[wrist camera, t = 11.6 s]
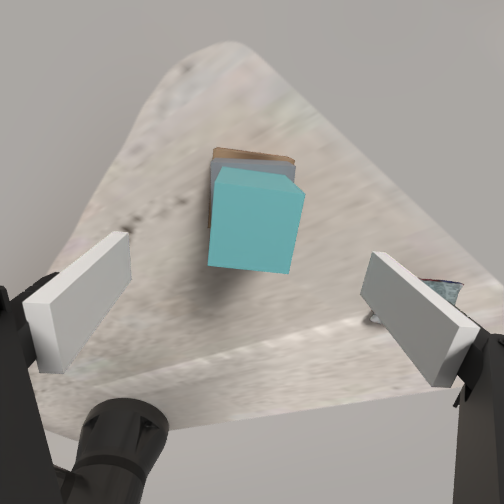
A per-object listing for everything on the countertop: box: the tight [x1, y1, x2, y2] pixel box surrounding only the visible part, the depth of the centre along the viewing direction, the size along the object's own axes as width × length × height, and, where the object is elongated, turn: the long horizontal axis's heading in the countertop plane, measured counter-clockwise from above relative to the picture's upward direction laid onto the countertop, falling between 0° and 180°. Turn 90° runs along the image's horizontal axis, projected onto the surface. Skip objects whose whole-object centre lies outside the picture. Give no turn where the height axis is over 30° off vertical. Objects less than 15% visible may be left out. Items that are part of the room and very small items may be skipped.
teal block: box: [208, 166, 305, 274], centre depth 24 cm, size 6×6×9 cm
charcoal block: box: [211, 158, 296, 220], centre depth 30 cm, size 8×8×5 cm
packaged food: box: [370, 278, 464, 324], centre depth 43 cm, size 9×12×5 cm
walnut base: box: [208, 147, 295, 228], centre depth 35 cm, size 9×9×5 cm
